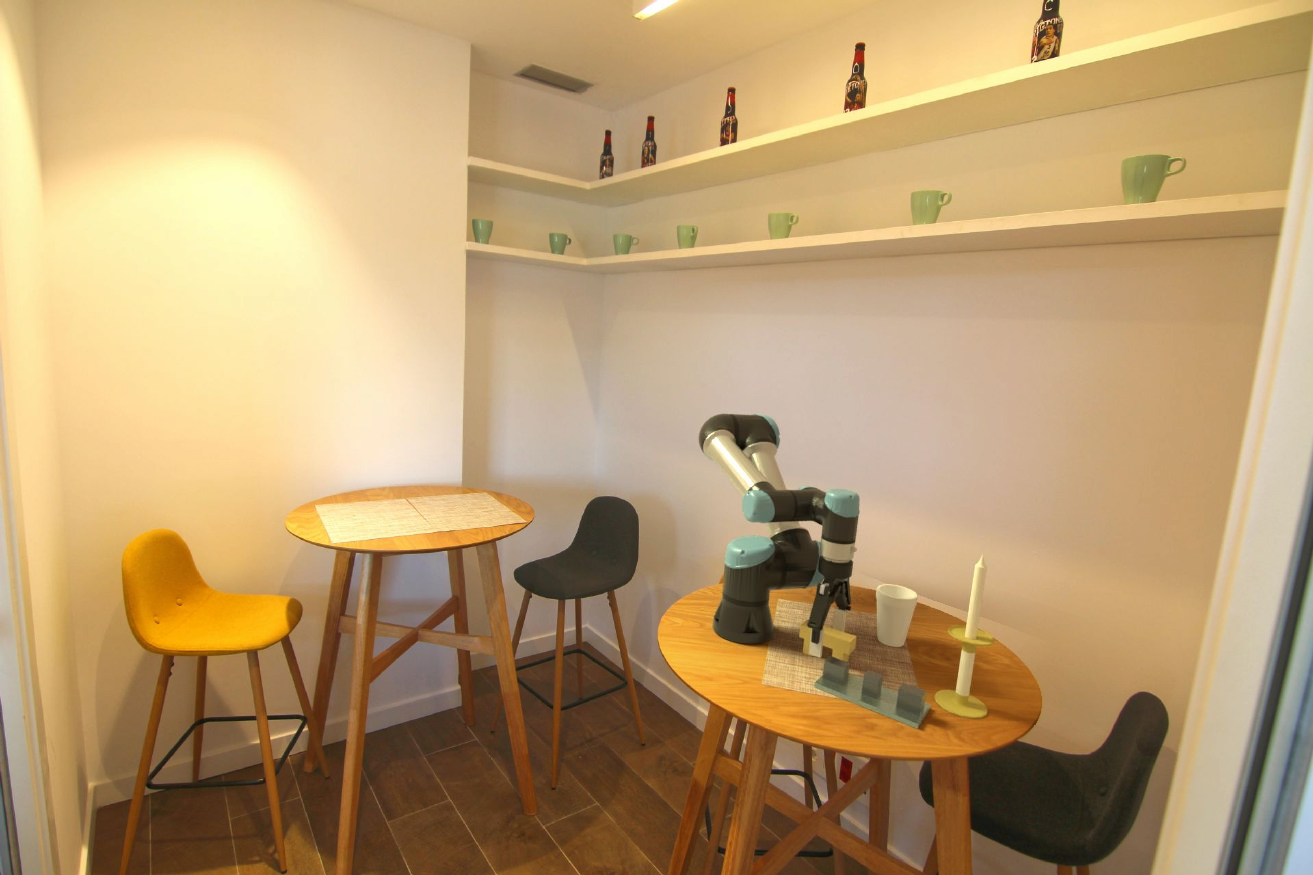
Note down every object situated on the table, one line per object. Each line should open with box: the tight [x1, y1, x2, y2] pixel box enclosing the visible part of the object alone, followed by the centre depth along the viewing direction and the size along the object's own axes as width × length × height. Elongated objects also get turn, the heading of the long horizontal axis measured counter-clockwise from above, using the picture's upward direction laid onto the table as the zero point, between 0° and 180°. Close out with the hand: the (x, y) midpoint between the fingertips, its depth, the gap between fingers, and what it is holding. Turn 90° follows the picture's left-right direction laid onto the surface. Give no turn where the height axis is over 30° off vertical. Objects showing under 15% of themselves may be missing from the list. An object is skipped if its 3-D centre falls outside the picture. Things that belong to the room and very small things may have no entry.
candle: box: [934, 554, 995, 720], centre depth 125 cm, size 10×10×32 cm
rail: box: [813, 655, 931, 729], centre depth 127 cm, size 21×9×5 cm, turn 52°
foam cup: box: [875, 583, 918, 648], centre depth 153 cm, size 10×9×13 cm
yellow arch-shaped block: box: [799, 619, 857, 662], centre depth 143 cm, size 12×4×6 cm, turn 52°
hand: (826, 645), depth 143 cm, fingers open, 13 cm apart
